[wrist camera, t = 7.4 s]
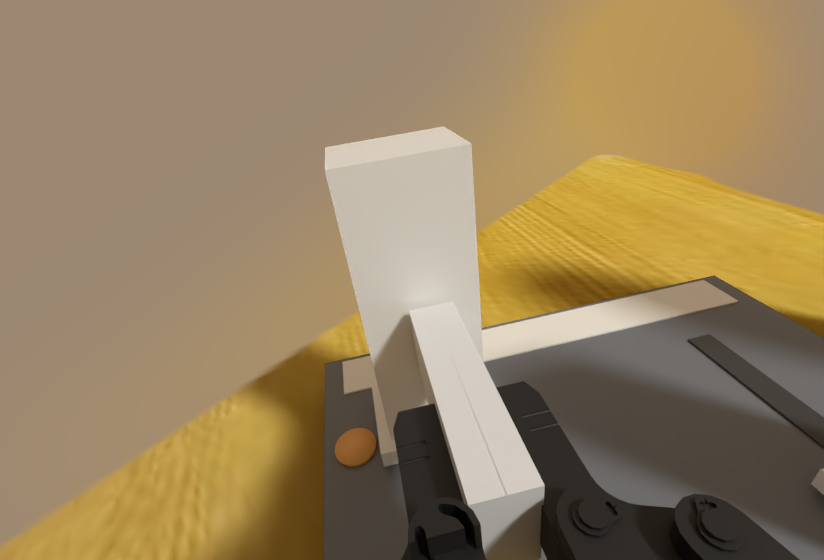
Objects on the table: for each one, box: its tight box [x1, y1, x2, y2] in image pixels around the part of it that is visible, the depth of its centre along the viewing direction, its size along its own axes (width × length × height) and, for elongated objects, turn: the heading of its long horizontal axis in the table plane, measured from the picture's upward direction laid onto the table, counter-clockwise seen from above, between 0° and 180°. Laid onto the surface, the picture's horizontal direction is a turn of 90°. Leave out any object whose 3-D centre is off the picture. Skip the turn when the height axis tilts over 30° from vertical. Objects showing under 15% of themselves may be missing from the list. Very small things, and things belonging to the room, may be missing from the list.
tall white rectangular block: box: [325, 127, 483, 467], centre depth 15 cm, size 5×4×12 cm
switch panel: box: [323, 276, 824, 560], centre depth 16 cm, size 24×18×2 cm
